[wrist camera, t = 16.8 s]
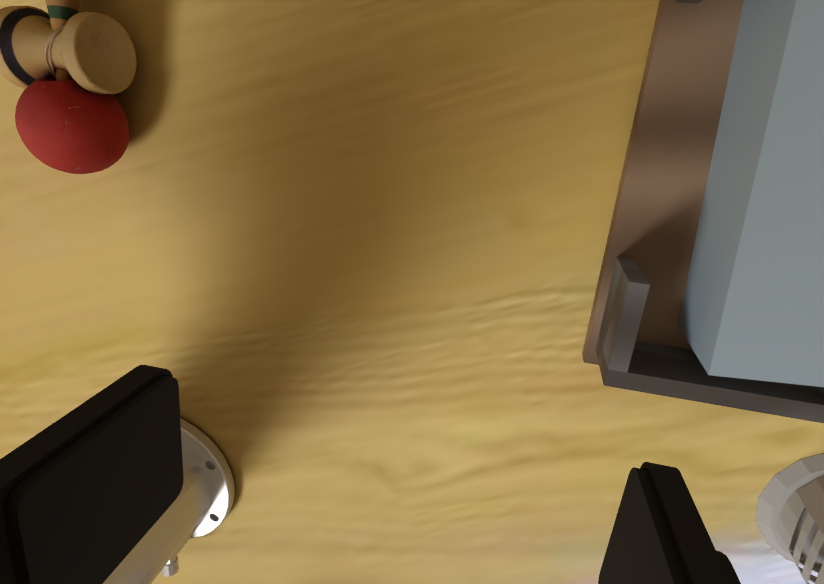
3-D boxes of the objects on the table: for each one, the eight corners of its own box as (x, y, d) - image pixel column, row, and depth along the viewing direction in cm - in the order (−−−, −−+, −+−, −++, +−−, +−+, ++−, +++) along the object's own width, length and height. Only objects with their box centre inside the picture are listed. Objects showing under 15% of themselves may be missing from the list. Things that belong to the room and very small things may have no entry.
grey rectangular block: (772, 333, 30) (825, 387, 25) (677, 325, 31) (708, 375, 26) (886, -83, 23) (996, -138, 18) (759, -77, 24) (825, -127, 19)
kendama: (25, -131, 33) (47, 168, 37) (-68, -200, 27) (-28, 168, 31) (150, -121, 33) (158, 177, 37) (86, -188, 26) (105, 179, 31)
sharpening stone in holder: (803, 389, 32) (854, 446, 27) (582, 353, 34) (590, 399, 29) (1027, -166, 22) (1175, -243, 17) (696, -166, 24) (739, -235, 19)
